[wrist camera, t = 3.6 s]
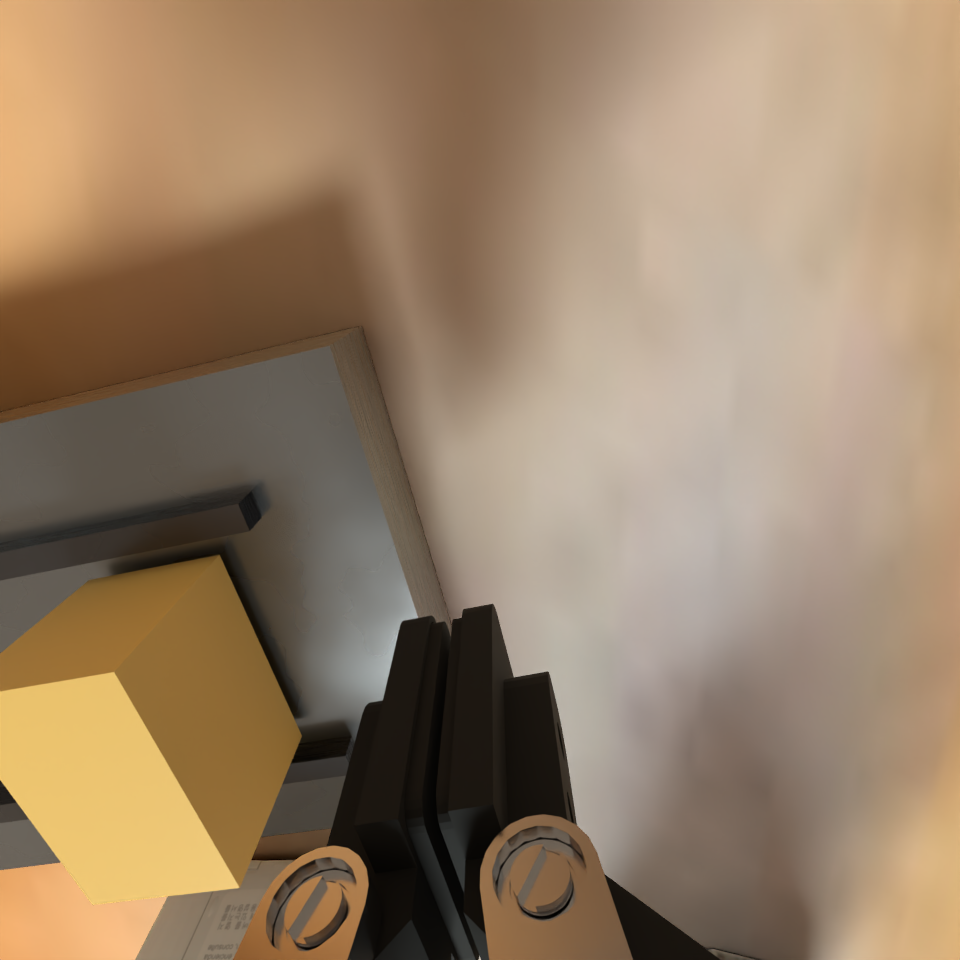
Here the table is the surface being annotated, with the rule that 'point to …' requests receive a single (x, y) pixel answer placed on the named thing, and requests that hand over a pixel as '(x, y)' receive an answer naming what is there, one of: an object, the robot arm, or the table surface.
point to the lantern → (728, 955)
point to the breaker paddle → (146, 732)
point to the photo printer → (209, 918)
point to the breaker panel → (231, 531)
